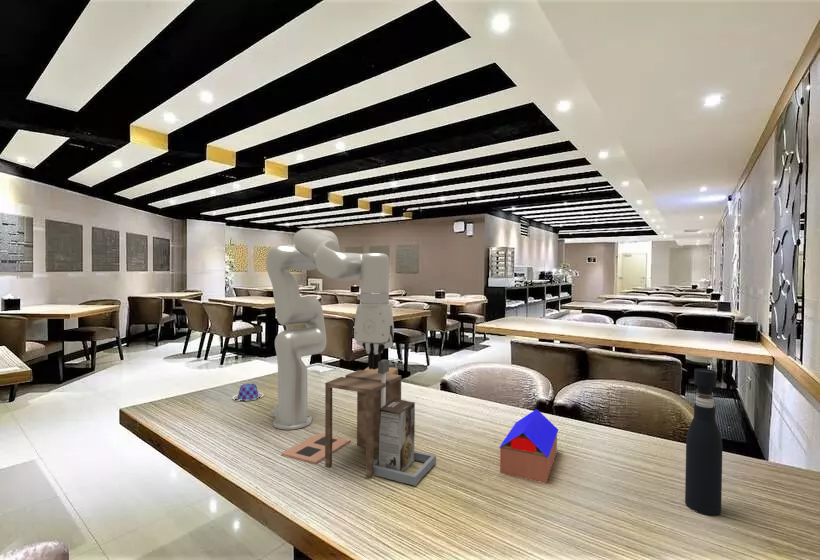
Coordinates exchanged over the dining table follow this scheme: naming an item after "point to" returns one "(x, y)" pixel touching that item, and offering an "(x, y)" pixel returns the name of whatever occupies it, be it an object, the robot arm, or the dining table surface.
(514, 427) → the house
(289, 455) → the board
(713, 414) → the wine bottle
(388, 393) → the brown wooden stand
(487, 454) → the dining table surface
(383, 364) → the cradle
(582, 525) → the dining table surface
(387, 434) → the coffee box
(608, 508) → the dining table surface
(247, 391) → the purple checkered hat
